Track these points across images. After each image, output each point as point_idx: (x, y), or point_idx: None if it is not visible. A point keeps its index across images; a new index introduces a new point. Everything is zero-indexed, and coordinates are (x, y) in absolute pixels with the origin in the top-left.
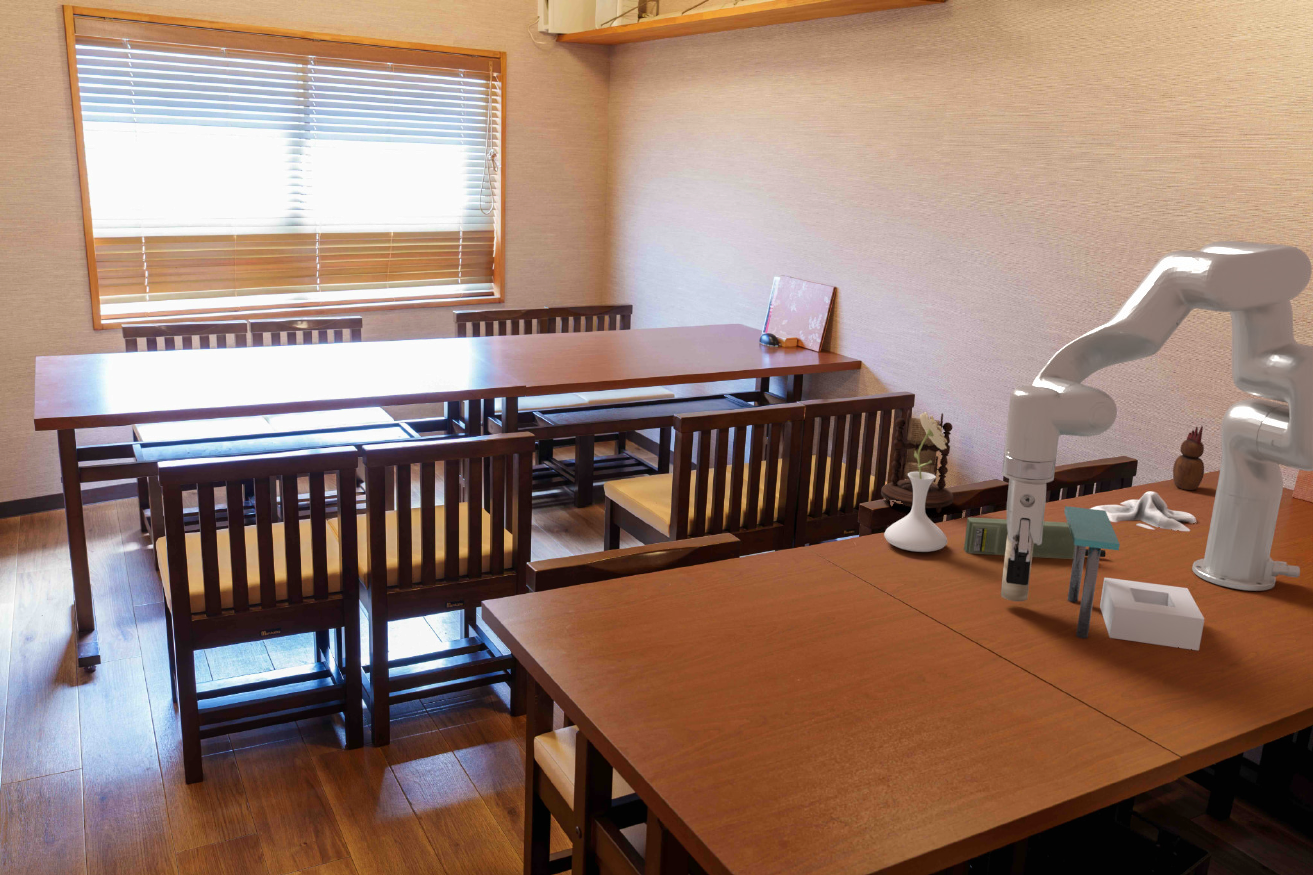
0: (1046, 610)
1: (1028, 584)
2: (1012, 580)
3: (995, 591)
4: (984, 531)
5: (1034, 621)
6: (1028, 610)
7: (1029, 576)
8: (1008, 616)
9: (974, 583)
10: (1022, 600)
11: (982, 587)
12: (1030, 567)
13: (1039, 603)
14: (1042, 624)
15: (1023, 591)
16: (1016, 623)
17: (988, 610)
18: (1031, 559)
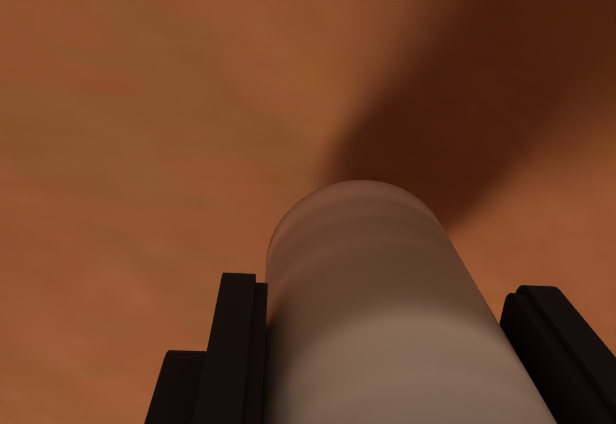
0: (331, 10)
1: (426, 241)
2: None
3: (113, 302)
4: None
5: (540, 118)
6: (366, 136)
7: (443, 279)
8: (490, 262)
9: (36, 401)
10: (438, 221)
11: (81, 365)
12: (474, 341)
13: (214, 44)
14: (581, 72)
15: (458, 255)
16: (586, 228)
17: None
18: (508, 417)
